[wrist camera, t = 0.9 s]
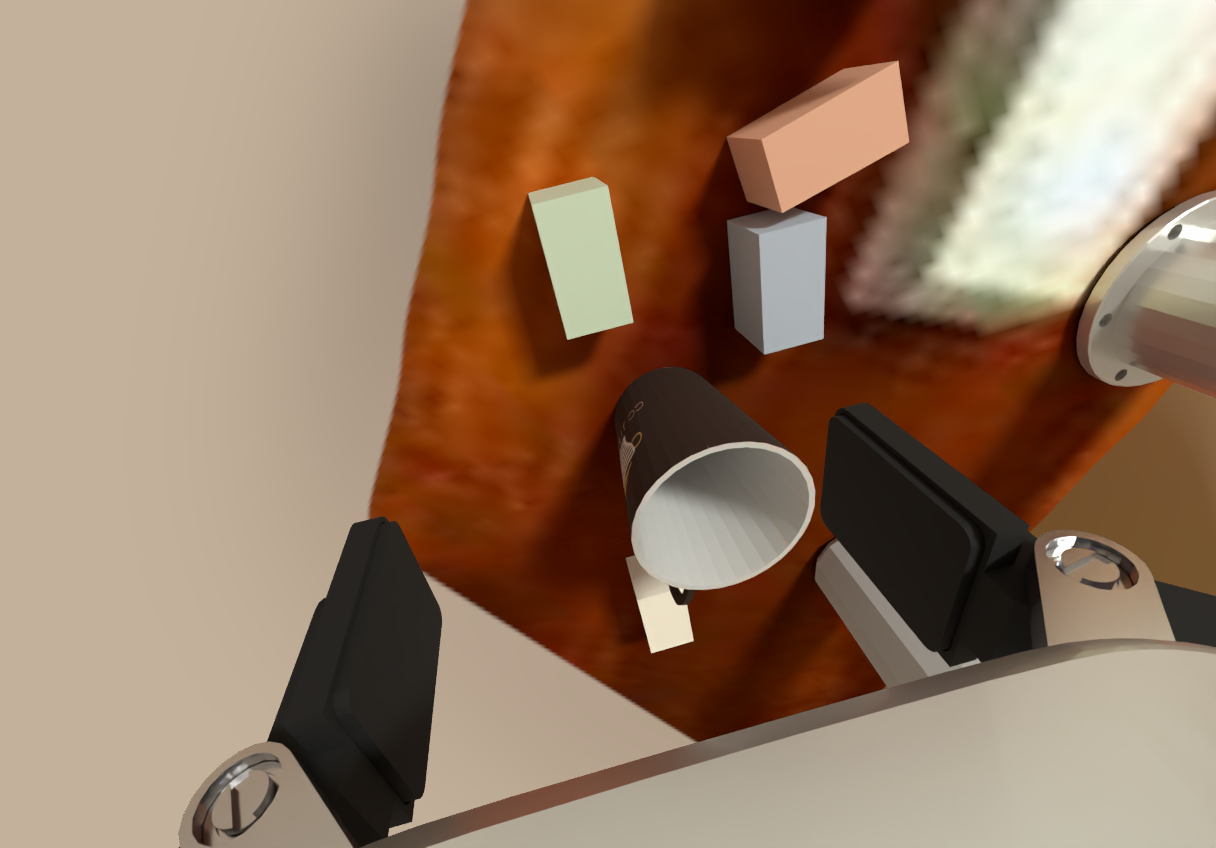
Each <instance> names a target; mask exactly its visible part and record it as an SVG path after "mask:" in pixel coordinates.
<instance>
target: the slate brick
mask: <svg viewBox="0 0 1216 848" xmlns="http://www.w3.org/2000/svg"><path fill="white" fill-rule="evenodd" d="M826 219H827V217H823V216H820V215H817V214H814V213H810V212H807V211H804V210H800V209H797V208H794V207H792V208H791V209H789V210H787V211H785V212H784V213H780V212H777V211H774V210H771V209H770V210H766V211H762V212H758V213H754V214H750V215H746V216H742V217H738V218H734V219H731V220H727V228H728V242H729V255H730V269H731V282H732V296H733V309H734V323H735V329H736V330H737V331H738V332H739V333H741V334H742V335H743V336H744V337H745V338H746V339H747V340H748V341H750V342H751V343H752V344H753V345H754V346H755V347H756V348H757V349H758V350H760V351H761V352H762V353H763V354H768V353H772V352H776V351H779V350H783V349H787V348H790V347H794V346H798V345H802V344H805V343H809V342H813V341H817V340H820V339H823V333H824V295H825V257H826Z"/></svg>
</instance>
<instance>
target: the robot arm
mask: <svg viewBox="0 0 1216 848" xmlns="http://www.w3.org/2000/svg"><path fill="white" fill-rule="evenodd" d="M1076 343H1077V355H1078V358H1079V361H1080V364H1081V365H1082V367H1083V368H1084V369H1085V370H1086V372H1087V373H1088V374H1090V375H1091V376H1093V377H1095V378H1096V379H1098V380H1101V381H1103V382H1106V383H1108V384H1110V385H1114V386H1122V387H1130V386H1140V385H1144V384H1147V383H1151V382H1154V381H1158V380H1160V379H1163V378H1164V379H1167V380H1169V381H1172V382H1174V383H1177V384H1180V385H1182V386H1184V387H1187V388H1190V389H1192V390H1195V391H1197V392H1200V393H1203V394H1205V395H1208V396H1210V397H1213V398H1215V399H1216V190H1215V191H1211V192H1207V193H1203V194H1200V195H1198V196H1196V197H1194V198H1192V199H1189V200H1187V201H1185V202H1183V203H1181V204H1179V205H1178V206H1176V207H1174V208H1173V209H1171V210H1170V211H1168V212H1166V213H1165V214H1163V215H1161V216H1160V217H1159V218H1157V219H1156V220H1155V221H1154V222H1152V223H1151V224H1150V225H1148V226H1147V227H1146V228H1145V229H1143V230H1142V231H1141V232H1140V233H1139V234H1138V235H1137V236H1136V237H1135V238H1134V239H1133V240H1132V241H1130V242H1129V243H1128V244H1127V245H1126V246H1125V247H1124V248H1123V249H1122V251H1121V252H1120V253H1119V254H1118V255H1117V257H1116V258H1115V259H1114V260H1113V261H1112V262H1111V264H1110V265H1109V266H1108V267H1107V269H1106V270H1105V272H1104V273H1103V275H1102V276H1101V278H1100V279H1099V281H1098V282H1097V284H1096V285H1095V287H1094V289H1093V291H1092V292H1091V294H1090V296H1089V298H1088V300H1087V302H1086V304H1085V307H1084V310H1083V312H1082V315H1081V318H1080V321H1079V325H1078V331H1077V337H1076ZM820 510H821V516H822V519H823V521H824V523H825V525H826V526H827V527H828V529H829V530H830V531H831V532H832V534H833V535H834V536H835V537H836V539H837V540H838V541H839V542H840V543H841V545H842V546H843V547H844V548H845V550H846V551H847V552H848V553H849V554H850V556H851V557H852V558H853V559H854V561H855V562H856V563H857V564H858V565H859V567H860V568H861V569H862V570H863V572H864V573H865V574H866V575H867V576H868V578H869V579H870V580H871V581H872V583H873V584H874V585H875V586H876V587H877V589H878V590H879V591H880V592H881V594H882V595H883V596H884V597H885V598H886V600H887V601H888V602H889V603H890V605H891V606H892V607H893V608H894V609H895V611H896V612H897V613H898V614H899V616H900V617H901V618H902V619H903V620H904V622H905V623H906V624H907V625H908V627H909V628H910V629H911V630H912V631H913V633H914V634H915V635H916V636H917V638H918V639H919V640H920V641H921V642H922V644H923V645H924V646H925V647H926V648H927V649H928V650H930V651H931V652H938V653H939V655H940V656H941V657H942V658H943V659H944V661H945V662H946V663H947V664H948V665H949V667H953V666H956V665H960V664H963V663H967V662H970V661H973V660H976V659H977V658H978V660H979V661H980V662H981V663H978V664H974V665H970V666H967V667H963V668H959V669H955V670H951V671H947V672H944V673H940V674H937V675H933V676H929V677H926V678H922V679H919V680H915V681H912V682H908V683H905V684H901V685H897V686H894V687H890V688H887V689H883V690H880V691H876V692H873V693H869V694H866V695H862V696H858V697H855V698H851V699H848V700H844V701H841V702H837V703H834V704H830V705H826V706H823V707H819V708H816V709H812V710H809V711H805V712H802V713H798V714H795V715H791V716H788V717H784V718H781V719H777V720H774V721H770V722H767V723H763V724H760V725H757V726H753V727H750V728H746V729H743V730H739V731H736V732H732V733H729V734H725V735H722V736H718V737H715V738H711V739H708V740H704V741H701V742H697V743H694V744H691V745H687V746H684V747H680V748H677V749H673V750H670V751H666V752H663V753H659V754H656V755H653V756H649V757H646V758H642V759H639V760H635V761H632V762H629V763H625V764H622V765H618V766H615V767H612V768H608V769H605V770H601V771H598V772H595V773H591V774H588V775H584V776H581V777H577V778H574V779H571V780H568V781H564V782H561V783H557V784H554V785H550V786H547V787H543V788H540V789H536V790H533V791H530V792H526V793H523V794H520V795H516V796H513V797H509V798H506V799H503V800H500V801H497V802H493V803H490V804H487V805H484V806H481V807H478V808H474V809H471V810H468V811H465V812H462V813H458V814H455V815H452V816H449V817H445V818H442V819H439V820H436V821H433V822H429V823H426V824H423V825H420V826H417V827H414V828H412V829H408V830H406V831H403V832H400V833H398V834H395V835H392V836H389V837H388V832H389V828H392V827H395V826H399V825H402V824H406V823H409V822H412V818H413V808H414V801H415V800H416V799H420V798H421V797H422V795H423V793H424V788H425V781H426V771H427V762H428V753H429V743H430V733H431V723H432V714H433V704H434V695H435V685H436V676H437V666H438V656H439V647H440V637H441V628H442V616H441V611H440V607H439V605H438V603H437V601H436V599H435V597H434V595H433V593H432V591H431V589H430V587H429V585H428V582H427V580H426V578H425V576H424V574H423V572H422V570H421V568H420V566H419V564H418V562H417V560H416V558H415V556H414V554H413V552H412V550H411V548H410V546H409V544H408V542H407V540H406V538H405V536H404V534H403V532H402V530H401V528H400V526H399V525H398V523H397V522H396V521H393V522H389V521H388V520H387V519H386V518H385V517H378V518H374V519H370V520H366V521H362V522H357V523H354V524H353V525H352V527H351V529H350V531H349V534H348V537H347V540H346V543H345V545H344V548H343V551H342V554H341V557H340V560H339V563H338V565H337V568H336V571H335V574H334V577H333V580H332V582H331V585H330V588H329V591H328V594H327V597H326V598H324V599H323V600H322V601H320V602H319V604H318V606H317V608H316V610H315V612H314V615H313V618H312V620H311V623H310V626H309V629H308V631H307V634H306V636H305V639H304V642H303V645H302V648H301V650H300V653H299V656H298V658H297V661H296V664H295V667H294V669H293V672H292V675H291V678H290V681H289V683H288V686H287V688H286V691H285V694H284V697H283V700H282V702H281V705H280V708H279V710H278V713H277V716H276V719H275V722H274V724H273V727H272V730H271V732H270V735H269V738H268V740H267V742H265V743H259V744H255V745H253V746H250V747H248V748H246V749H244V750H242V751H239V752H238V753H237V754H235V755H234V756H232V757H231V758H229V759H228V760H227V761H225V762H224V763H222V764H221V765H220V766H219V767H218V768H217V769H216V770H215V771H214V772H213V773H212V774H211V775H210V776H209V777H208V778H207V779H206V780H205V781H204V782H203V784H202V785H201V787H200V788H199V789H198V790H197V792H196V793H195V794H194V796H193V797H192V799H191V801H190V803H189V805H188V807H187V809H186V811H185V813H184V815H183V818H182V822H181V826H180V830H179V840H180V841H179V842H180V847H179V848H1216V596H1213V595H1209V594H1205V593H1201V592H1197V591H1194V590H1190V589H1186V588H1182V587H1178V586H1174V585H1171V584H1167V583H1163V582H1159V581H1155V580H1154V579H1153V576H1152V574H1151V573H1150V571H1149V569H1148V568H1147V566H1146V564H1144V562H1143V561H1141V560H1140V559H1139V558H1138V557H1137V556H1136V555H1135V554H1134V553H1132V552H1131V551H1129V550H1127V549H1126V548H1124V547H1122V546H1121V545H1119V544H1117V543H1115V542H1113V541H1110V540H1108V539H1105V538H1103V537H1101V536H1097V535H1093V534H1090V533H1086V532H1081V531H1072V530H1058V531H1051V532H1048V533H1046V534H1043V535H1041V536H1040V537H1039V538H1038V539H1037V538H1036V537H1035V536H1033V535H1032V534H1031V533H1029V532H1028V528H1029V526H1030V525H1028V524H1027V523H1026V522H1024V521H1023V520H1022V519H1020V518H1019V517H1018V516H1016V515H1015V514H1014V513H1013V512H1011V511H1010V510H1009V509H1007V508H1006V507H1005V506H1003V505H1002V504H1001V503H999V502H998V501H997V500H995V499H994V498H993V497H991V496H990V495H989V494H987V493H986V492H985V491H983V490H982V489H981V488H980V487H978V486H977V485H976V484H974V483H973V482H972V481H970V480H969V479H968V478H966V477H965V476H964V475H962V474H961V473H960V472H958V471H957V470H956V469H954V468H953V467H952V466H950V465H949V464H948V463H947V462H945V461H944V460H943V459H941V458H940V457H939V456H937V455H936V454H935V453H933V452H932V451H931V450H929V449H928V448H927V447H925V446H924V445H923V444H921V443H920V442H919V441H917V440H916V439H915V438H913V437H912V436H911V435H910V434H908V433H907V432H906V431H904V430H903V429H902V428H900V427H899V426H898V425H896V424H895V423H894V422H892V421H891V420H890V419H888V418H887V417H886V416H884V415H883V414H882V413H880V412H879V411H878V410H877V409H875V408H874V407H873V406H871V405H870V404H868V403H861V404H857V405H852V406H848V407H844V408H840V409H838V410H837V412H836V414H835V417H832V418H831V419H830V421H829V427H828V437H827V447H826V457H825V468H824V478H823V488H822V498H821V508H820Z"/></svg>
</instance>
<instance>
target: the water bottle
mask: <svg viewBox="0 0 1216 848" xmlns="http://www.w3.org/2000/svg"><path fill="white" fill-rule="evenodd" d="M815 581H816V582H817V584H818V585H819V587H820V588H821V590H822V591H823V593H824V594H825V596H826V597H827V599H828V600H829V602H830V603H831V605H832V606H833V607H834V609H835V610H836V612H837V613H838V615H839V616H840V618H841V619H842V621H843V622H844V624H845V625H846V627H847V628H848V630H849V631H850V633H851V634H852V636H853V637H854V639H855V640H856V641H857V643H858V644H859V646H860V647H861V649H862V650H863V652H864V653H865V655H866V656H867V658H868V659H869V661H870V662H871V664H872V665H873V667H874V668H875V670H876V671H877V672H878V674H879V675H880V677H881V678H882V680H883V681H884V683H885V684H886V686H887V687H888V688H890V687H894V686H897V685H901V684H905V683H908V682H912V681H915V680H919V679H922V678H926V677H929V676H933V675H937V674H940V673H944V672H947V671H951V670H955V669H959V668H963V667H967V666H970V665H974V664H978V663H981V662H980V661H979V660H978V658H977V659H976V660H973V661H970V662H967V663H963V664H960V665H956V666H953V667H949V665H948V664H947V663H946V662H945V661H944V659H943V658H942V657H941V656H940V655H939V653H938V652H931V651H930V650H928V649H927V648H926V647H925V646H924V645H923V644H922V642H921V641H920V640H919V639H918V638H917V636H916V635H915V634H914V633H913V631H912V630H911V629H910V628H909V627H908V625H907V624H906V623H905V622H904V620H903V619H902V618H901V617H900V616H899V614H898V613H897V612H896V611H895V609H894V608H893V607H892V606H891V605H890V603H889V602H888V601H887V600H886V598H885V597H884V596H883V595H882V594H881V592H880V591H879V590H878V589H877V587H876V586H875V585H874V584H873V583H872V581H871V580H870V579H869V578H868V576H867V575H866V574H865V573H864V572H863V570H862V569H861V568H860V567H859V565H858V564H857V563H856V562H855V561H854V559H853V558H852V557H851V556H850V554H849V553H848V552H847V551H846V550H845V548H844V547H843V546H842V545H841V543H840V542H839V541H838V540H837V539H834V540H833V541H831V542H830V543H828V545H827V546H826V547H825V549H824V550H823V551H822V553H821V554H820V555H819V557H818V558H817V563H816V572H815Z"/></svg>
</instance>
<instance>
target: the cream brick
mask: <svg viewBox="0 0 1216 848" xmlns="http://www.w3.org/2000/svg"><path fill="white" fill-rule="evenodd" d="M626 562H627V565H628V569H629V573H630V576H631V580H632V584H633V588H634V591H635V595H636V599H637V602H638V606H639V610H640V613H641V617H642V621H643V624H644V628H645V631H646V635H647V639H648V642H649V646H650V650H651V653H654V652H657V651H661V650H664V649H668V648H671V647H674V646H678V645H681V644H685V643H688V642H692V641H694V640H693V635H692V630H691V624H690V619H689V614H688V609H687V605H677V604H676V603H675V601H674V599H673V597H672V595H671V592H670V589H669V585H668V584H665V583H662V582H660V581H659V580H657V579H655V578H654V577H652V576H651V575H649V574H648V573H647V572H646V570H645V569H644V568H643V567H642V566H641V565H640V563H639V562H638V560H637V558H636V556H635V555H634V556H631V557H627V558H626ZM679 590H680V591H681V593H683V591H684V589H682V588H679Z"/></svg>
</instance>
